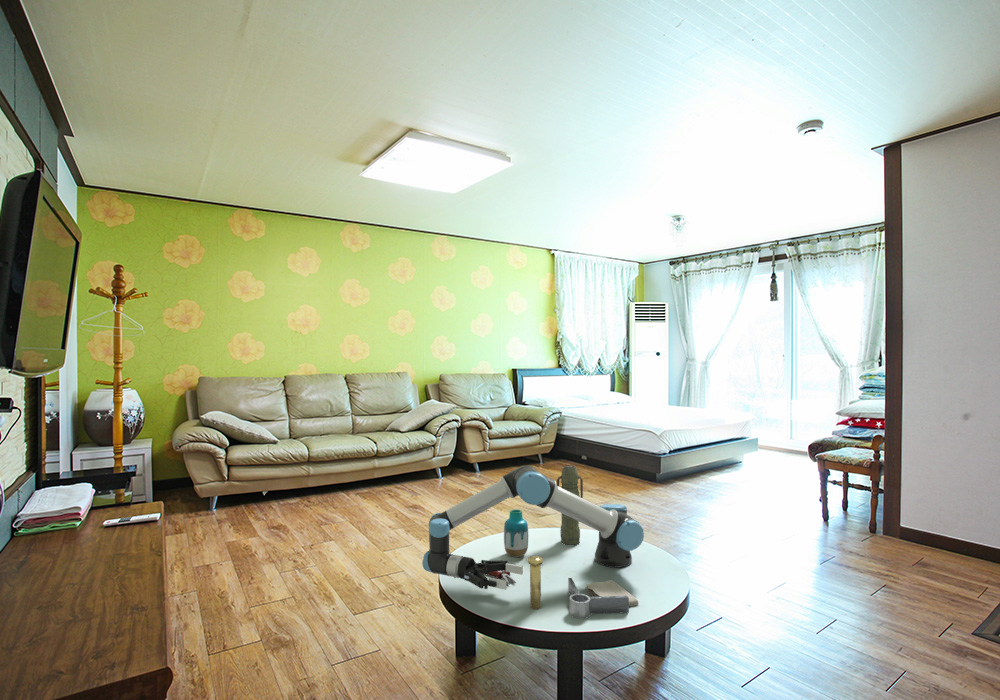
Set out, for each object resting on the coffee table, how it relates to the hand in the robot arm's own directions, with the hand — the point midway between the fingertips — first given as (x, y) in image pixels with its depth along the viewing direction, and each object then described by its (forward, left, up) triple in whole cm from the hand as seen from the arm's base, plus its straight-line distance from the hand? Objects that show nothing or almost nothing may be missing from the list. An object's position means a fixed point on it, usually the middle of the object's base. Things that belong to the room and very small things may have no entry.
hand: (514, 577), depth 180 cm
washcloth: (-34, -2, -9) cm, 36 cm away
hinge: (-27, +3, -9) cm, 29 cm away
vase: (-5, -43, -9) cm, 45 cm away
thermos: (-31, -57, -9) cm, 66 cm away
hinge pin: (-7, +4, -9) cm, 12 cm away
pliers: (+5, -24, -9) cm, 26 cm away
